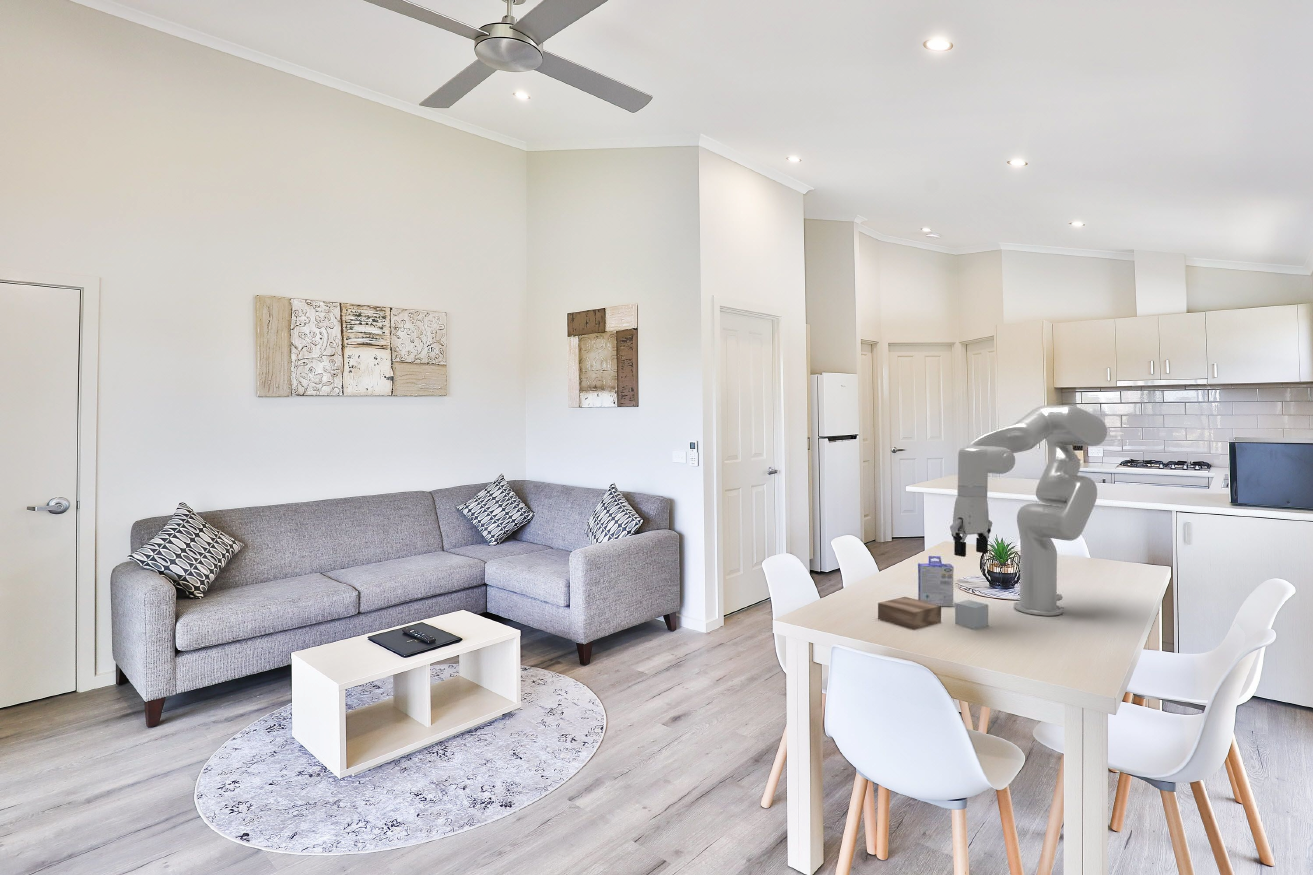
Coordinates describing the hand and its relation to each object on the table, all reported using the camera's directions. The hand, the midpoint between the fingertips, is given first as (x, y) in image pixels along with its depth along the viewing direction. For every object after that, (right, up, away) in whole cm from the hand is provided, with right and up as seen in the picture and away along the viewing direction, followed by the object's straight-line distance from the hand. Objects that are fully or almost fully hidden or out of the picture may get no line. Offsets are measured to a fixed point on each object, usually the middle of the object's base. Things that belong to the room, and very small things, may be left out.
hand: (971, 554), depth 193 cm
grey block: (+1, -20, +1) cm, 20 cm away
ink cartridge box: (-1, -19, +22) cm, 29 cm away
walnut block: (-15, -20, +5) cm, 26 cm away
